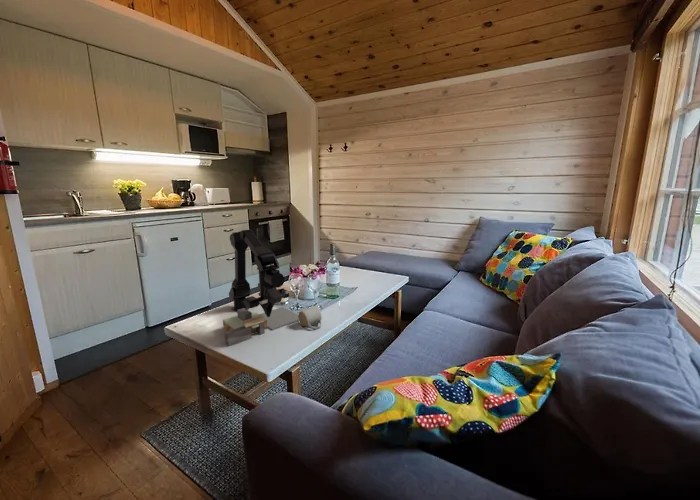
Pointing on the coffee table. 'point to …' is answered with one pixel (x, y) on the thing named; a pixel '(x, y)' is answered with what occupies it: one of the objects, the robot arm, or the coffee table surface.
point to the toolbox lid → (242, 318)
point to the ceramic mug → (310, 317)
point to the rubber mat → (280, 318)
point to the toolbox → (242, 333)
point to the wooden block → (253, 321)
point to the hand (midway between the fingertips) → (268, 316)
